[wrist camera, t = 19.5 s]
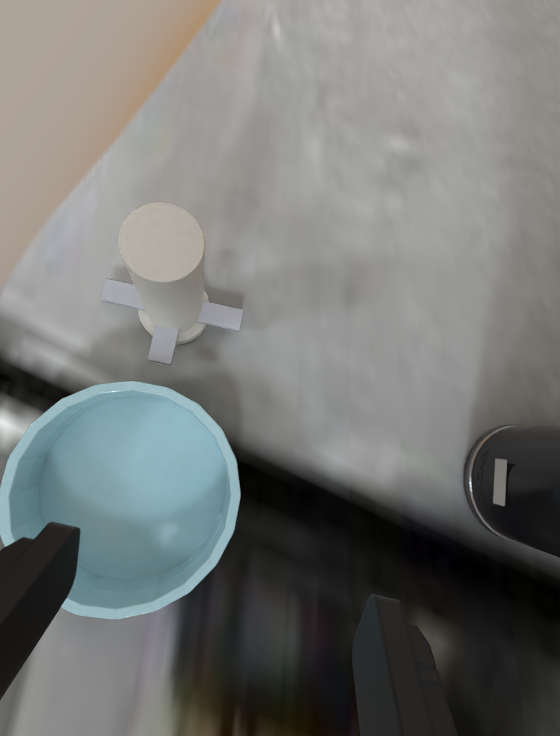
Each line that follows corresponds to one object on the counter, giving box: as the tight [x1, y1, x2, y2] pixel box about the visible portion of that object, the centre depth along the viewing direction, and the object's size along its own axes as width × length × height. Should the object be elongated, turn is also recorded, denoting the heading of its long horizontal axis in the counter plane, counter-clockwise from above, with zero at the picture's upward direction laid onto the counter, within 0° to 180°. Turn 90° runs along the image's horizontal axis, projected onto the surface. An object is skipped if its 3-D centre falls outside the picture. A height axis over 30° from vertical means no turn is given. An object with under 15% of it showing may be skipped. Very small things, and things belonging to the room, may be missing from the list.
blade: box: [100, 202, 244, 365], centre depth 27 cm, size 10×9×13 cm
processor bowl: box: [0, 381, 241, 619], centre depth 29 cm, size 14×14×6 cm
